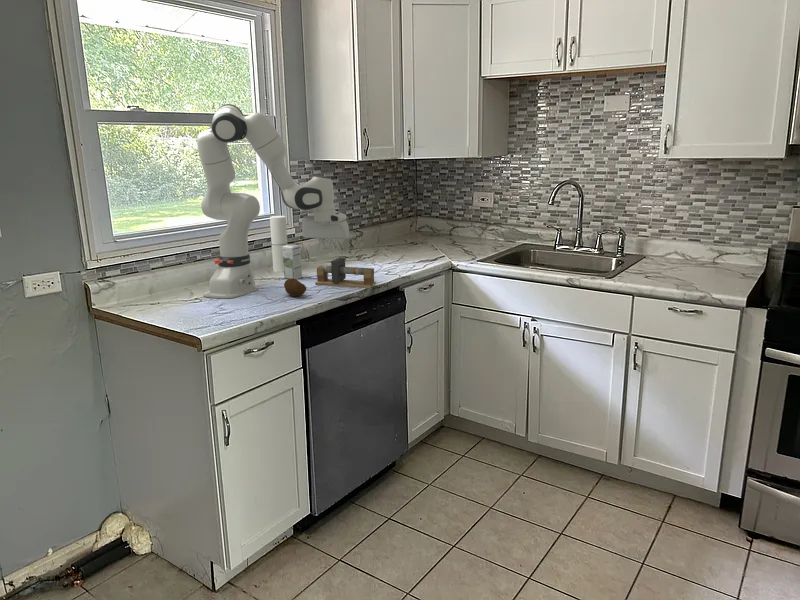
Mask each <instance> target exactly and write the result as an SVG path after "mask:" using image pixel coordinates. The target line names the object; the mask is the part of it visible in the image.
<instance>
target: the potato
mask: <svg viewBox="0 0 800 600" xmlns="http://www.w3.org/2000/svg"><path fill="white" fill-rule="evenodd" d="M283 288H284V290H285V292H287V294H288V295H289V296H291V297H295V298H297V297H301V296H302V295H304V294H305V293H306V291H307V286H306V285H305V283H302V282H301V281H299V280H298V279H294V278H291V279H286V280H285V281H284V283H283Z"/></svg>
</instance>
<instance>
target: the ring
mask: <svg viewBox="0 0 800 600" xmlns="http://www.w3.org/2000/svg"><path fill="white" fill-rule="evenodd" d="M330 263H331V264H330V266H331V272H332V273H331V279H332V283H338V282H340V281H342V280H346V278H347V277H346V275H347V274H339V266H340V267H346V257H341V256H340V257H337V258H335V259H333V260H331V261H330Z"/></svg>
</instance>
